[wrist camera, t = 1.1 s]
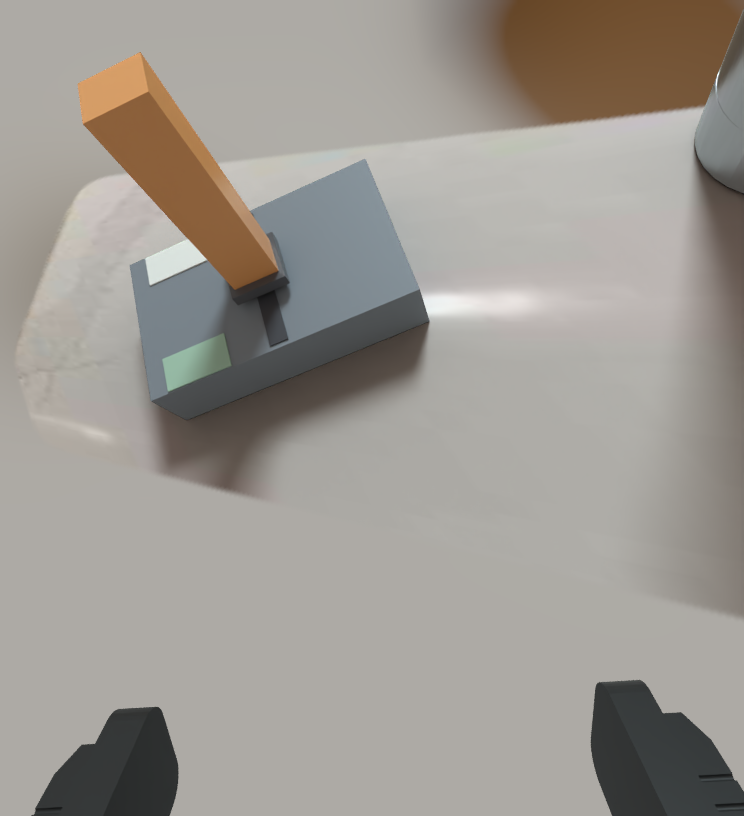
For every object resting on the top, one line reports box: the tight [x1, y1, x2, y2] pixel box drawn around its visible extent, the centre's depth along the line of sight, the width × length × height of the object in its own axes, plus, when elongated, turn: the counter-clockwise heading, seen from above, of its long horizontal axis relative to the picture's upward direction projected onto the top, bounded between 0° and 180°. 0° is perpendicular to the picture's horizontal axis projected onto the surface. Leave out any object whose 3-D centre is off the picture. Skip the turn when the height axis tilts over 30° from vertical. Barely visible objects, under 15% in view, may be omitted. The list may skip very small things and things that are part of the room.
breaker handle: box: [78, 52, 290, 305], centre depth 28 cm, size 4×4×14 cm
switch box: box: [130, 159, 429, 420], centre depth 36 cm, size 11×18×4 cm, turn 108°
